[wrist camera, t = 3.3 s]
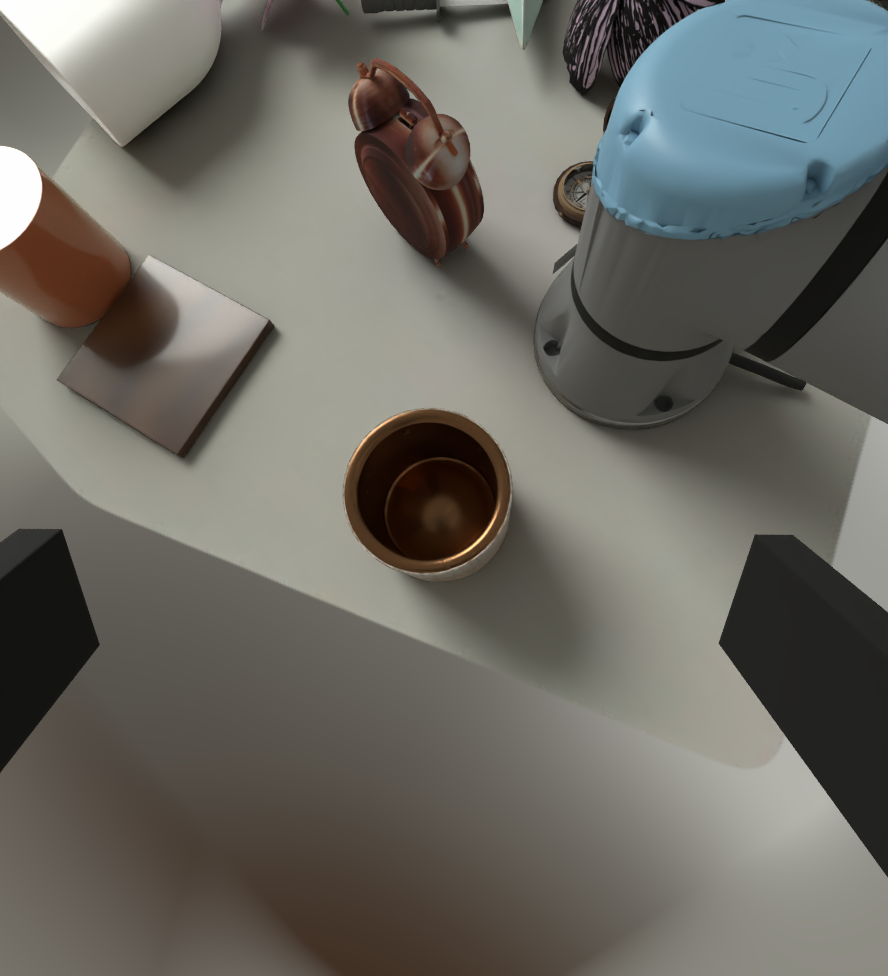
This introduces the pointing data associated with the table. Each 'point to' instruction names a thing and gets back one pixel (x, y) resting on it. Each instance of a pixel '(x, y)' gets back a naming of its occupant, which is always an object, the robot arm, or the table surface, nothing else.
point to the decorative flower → (618, 34)
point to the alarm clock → (414, 161)
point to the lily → (271, 3)
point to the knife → (420, 4)
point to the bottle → (121, 53)
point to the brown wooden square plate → (166, 354)
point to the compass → (576, 186)
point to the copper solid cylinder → (54, 248)
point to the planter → (429, 494)
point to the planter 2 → (524, 18)
